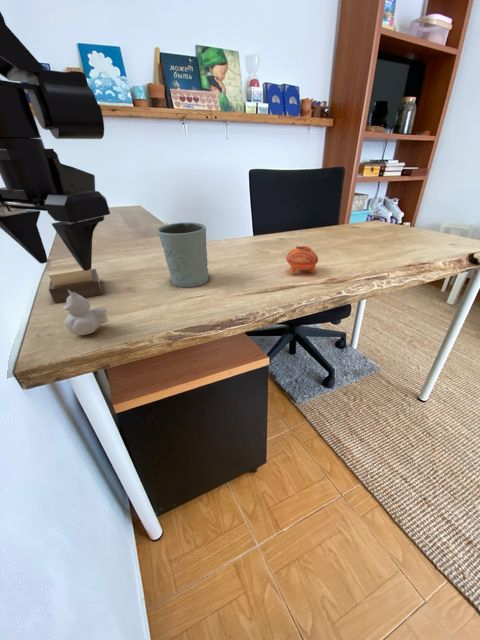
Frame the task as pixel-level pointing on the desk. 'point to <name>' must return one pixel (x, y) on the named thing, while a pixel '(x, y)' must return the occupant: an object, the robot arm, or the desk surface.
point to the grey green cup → (185, 253)
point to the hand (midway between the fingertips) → (65, 266)
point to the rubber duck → (82, 315)
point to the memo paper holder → (72, 281)
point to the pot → (302, 259)
